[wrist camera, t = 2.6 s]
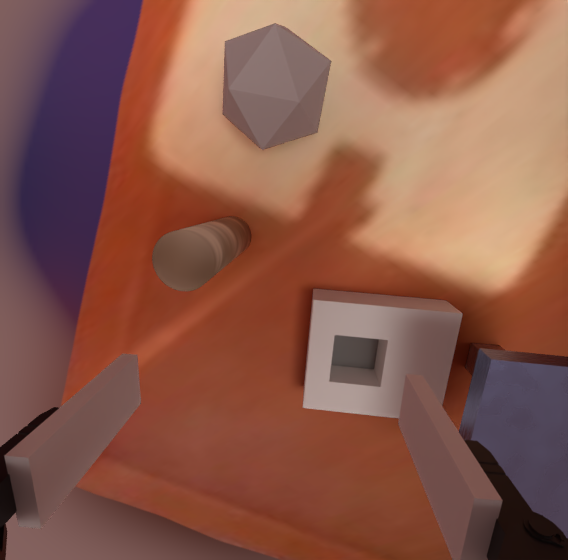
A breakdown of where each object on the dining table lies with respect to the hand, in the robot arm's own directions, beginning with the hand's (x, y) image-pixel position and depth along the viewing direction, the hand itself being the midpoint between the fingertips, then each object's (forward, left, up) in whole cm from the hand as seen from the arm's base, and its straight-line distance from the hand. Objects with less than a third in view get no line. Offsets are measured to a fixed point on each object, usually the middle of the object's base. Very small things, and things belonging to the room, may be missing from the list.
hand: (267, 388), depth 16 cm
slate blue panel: (+7, +18, -20) cm, 28 cm away
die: (-18, -3, -21) cm, 27 cm away
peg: (-5, -7, -20) cm, 22 cm away
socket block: (+6, +9, -20) cm, 23 cm away
